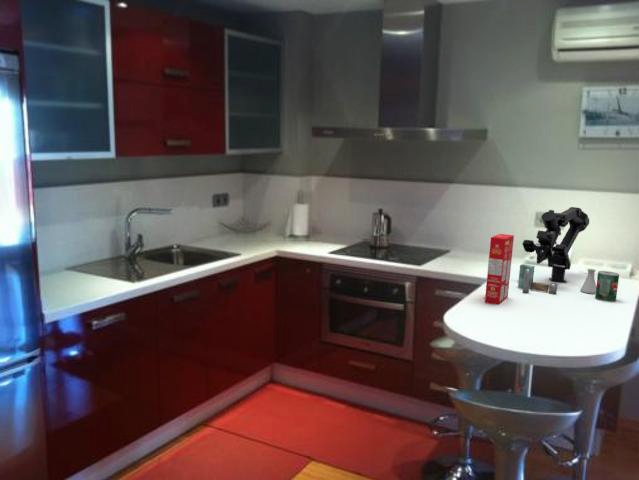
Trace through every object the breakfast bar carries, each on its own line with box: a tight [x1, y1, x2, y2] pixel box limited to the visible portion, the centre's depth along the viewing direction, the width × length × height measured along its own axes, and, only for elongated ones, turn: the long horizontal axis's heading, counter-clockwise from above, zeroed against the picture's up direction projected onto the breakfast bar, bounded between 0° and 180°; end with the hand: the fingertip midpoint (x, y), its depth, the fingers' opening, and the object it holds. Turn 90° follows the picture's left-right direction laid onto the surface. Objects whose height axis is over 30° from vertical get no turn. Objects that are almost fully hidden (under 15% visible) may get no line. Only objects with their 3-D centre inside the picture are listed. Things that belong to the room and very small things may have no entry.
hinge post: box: [548, 283, 558, 295], centre depth 249 cm, size 3×3×4 cm
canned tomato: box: [594, 270, 620, 303], centre depth 243 cm, size 8×8×11 cm
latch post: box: [522, 269, 531, 295], centre depth 247 cm, size 2×2×10 cm
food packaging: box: [484, 233, 515, 305], centre depth 231 cm, size 15×5×25 cm, turn 150°
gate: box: [517, 263, 550, 293], centre depth 253 cm, size 12×4×10 cm, turn 54°
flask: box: [579, 268, 597, 295], centre depth 255 cm, size 7×7×10 cm
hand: (537, 263), depth 259 cm, fingers closed
